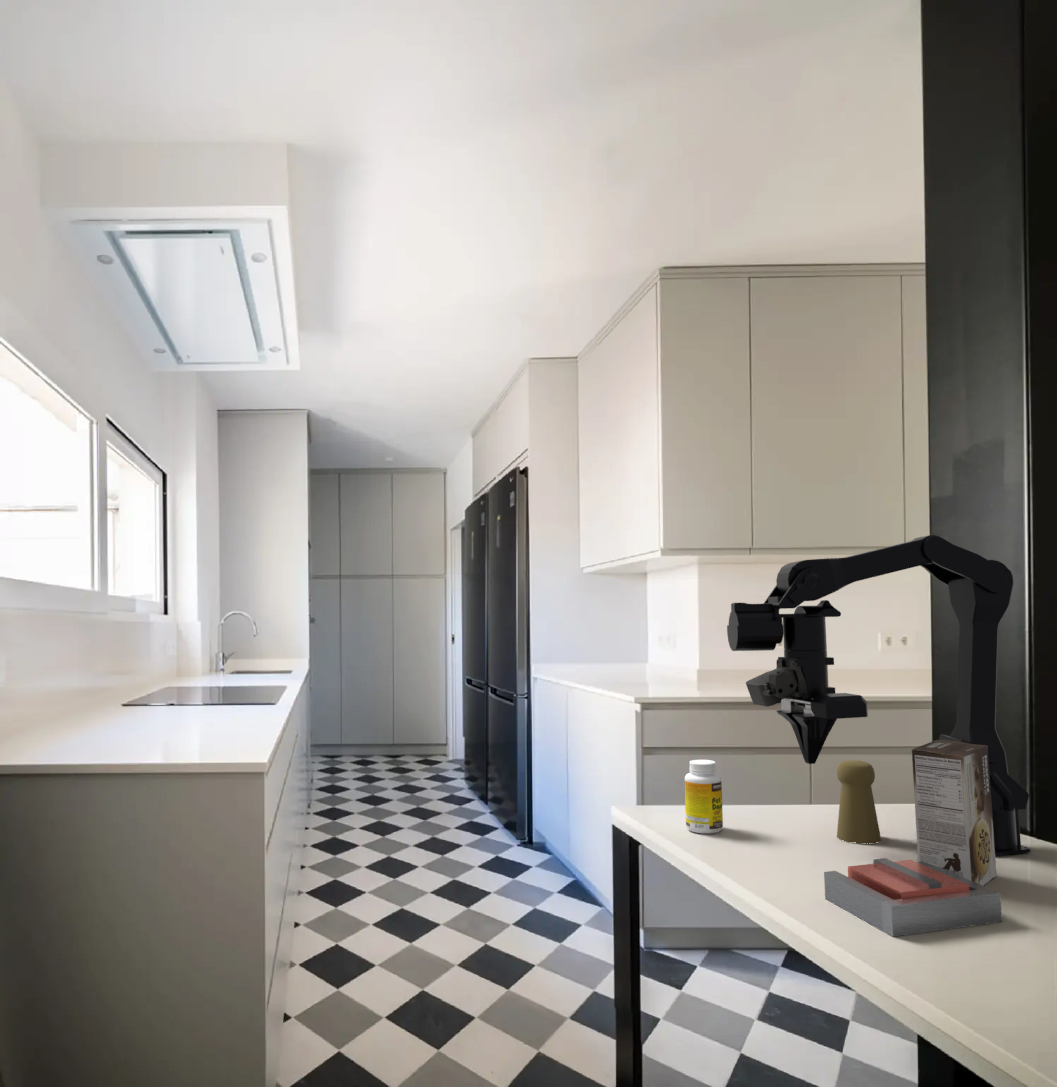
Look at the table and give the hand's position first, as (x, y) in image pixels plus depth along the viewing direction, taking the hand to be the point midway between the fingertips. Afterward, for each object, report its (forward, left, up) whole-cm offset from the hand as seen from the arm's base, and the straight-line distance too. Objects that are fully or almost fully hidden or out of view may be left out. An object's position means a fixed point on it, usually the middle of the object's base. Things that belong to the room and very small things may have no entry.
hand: (810, 763), depth 112 cm
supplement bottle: (+9, -15, -12) cm, 21 cm away
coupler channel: (+2, +21, -12) cm, 24 cm away
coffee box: (-10, +15, -12) cm, 22 cm away
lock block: (+2, +21, -12) cm, 25 cm away
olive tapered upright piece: (-10, -4, -12) cm, 16 cm away
